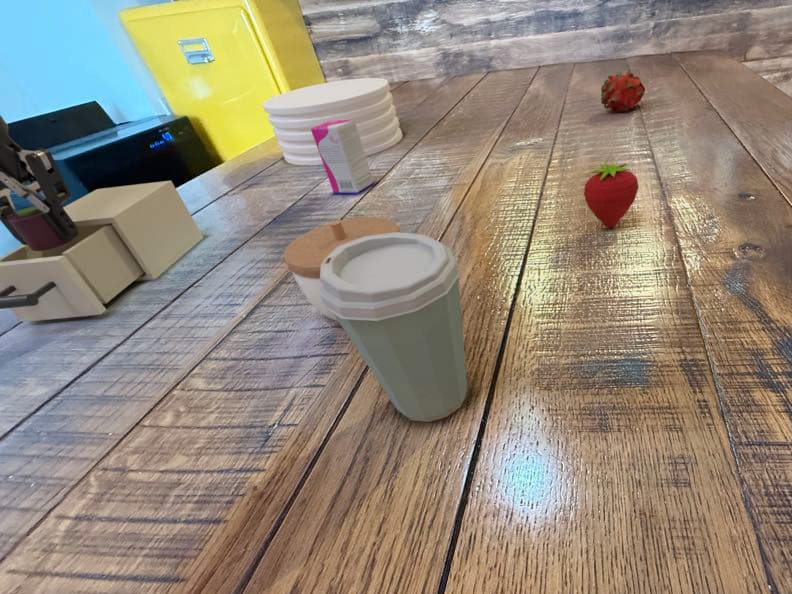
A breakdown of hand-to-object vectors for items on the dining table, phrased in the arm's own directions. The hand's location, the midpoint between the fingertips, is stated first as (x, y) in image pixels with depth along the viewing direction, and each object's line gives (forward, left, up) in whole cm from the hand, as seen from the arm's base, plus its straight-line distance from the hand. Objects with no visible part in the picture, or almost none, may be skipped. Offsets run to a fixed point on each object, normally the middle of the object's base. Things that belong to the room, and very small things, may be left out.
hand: (51, 239), depth 67 cm
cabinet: (0, +11, -9) cm, 15 cm away
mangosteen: (0, 0, 0) cm, 0 cm away
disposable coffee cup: (+54, -28, -9) cm, 62 cm away
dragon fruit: (+83, +72, -9) cm, 110 cm away
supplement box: (+28, +35, -9) cm, 46 cm away
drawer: (0, -2, -8) cm, 8 cm away
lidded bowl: (+43, -11, -9) cm, 45 cm away
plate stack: (+16, +69, -9) cm, 71 cm away
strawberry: (+74, +7, -9) cm, 75 cm away
